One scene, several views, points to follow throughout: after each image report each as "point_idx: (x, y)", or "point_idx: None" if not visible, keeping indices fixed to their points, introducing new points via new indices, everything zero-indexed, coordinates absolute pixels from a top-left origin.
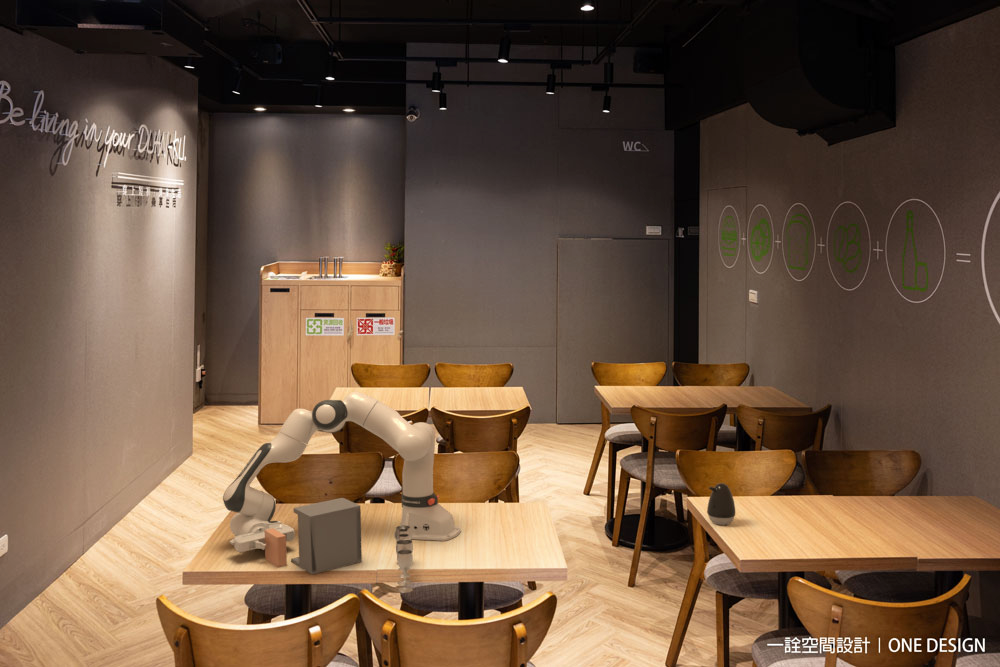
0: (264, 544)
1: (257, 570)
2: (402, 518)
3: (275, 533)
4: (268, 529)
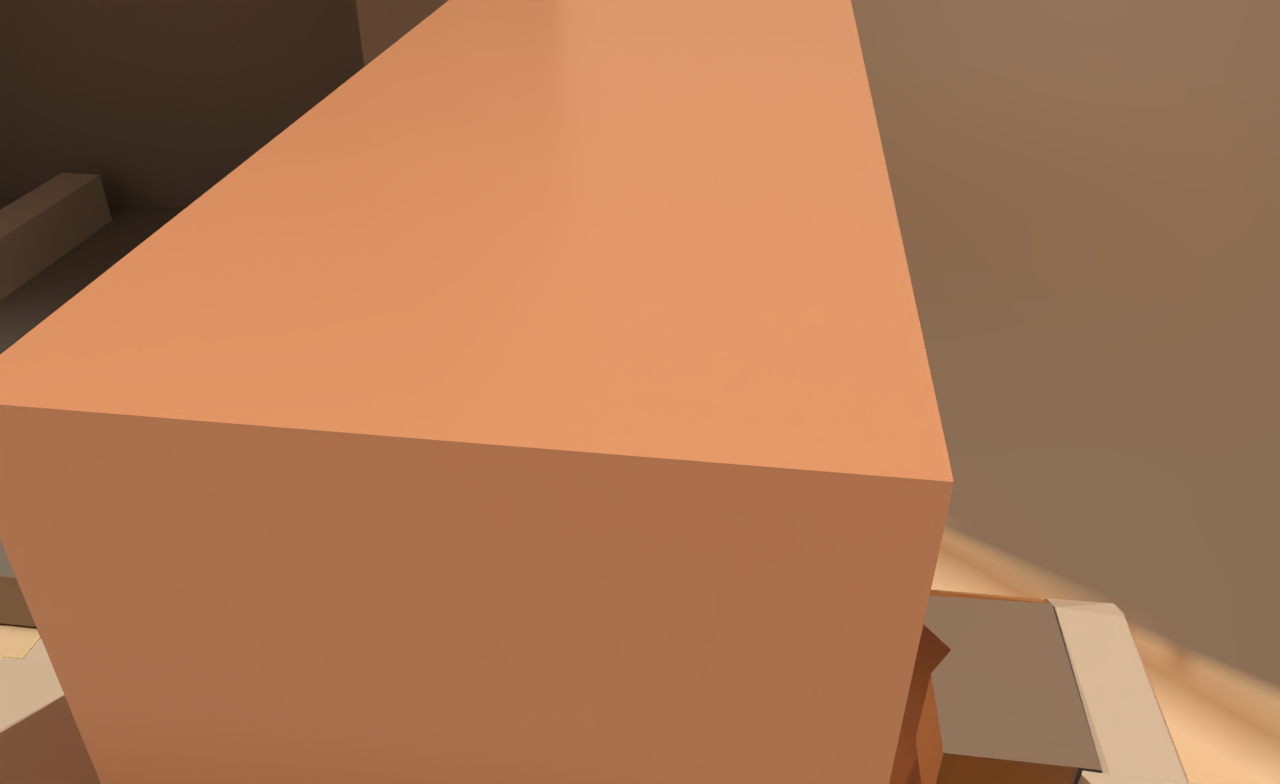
0: (1040, 606)
1: (1222, 738)
2: None
3: (673, 4)
4: (534, 376)
